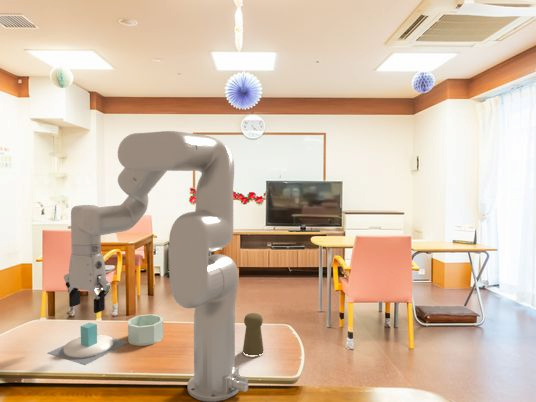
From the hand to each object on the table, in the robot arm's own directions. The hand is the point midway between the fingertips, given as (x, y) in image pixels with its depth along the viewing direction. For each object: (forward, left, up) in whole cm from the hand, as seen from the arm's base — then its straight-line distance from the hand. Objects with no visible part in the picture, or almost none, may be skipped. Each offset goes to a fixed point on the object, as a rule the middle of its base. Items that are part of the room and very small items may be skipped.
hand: (86, 308), depth 111 cm
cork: (-44, -19, -12) cm, 49 cm away
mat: (-1, 0, -12) cm, 12 cm away
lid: (-1, 0, -11) cm, 11 cm away
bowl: (-11, -12, -12) cm, 20 cm away
